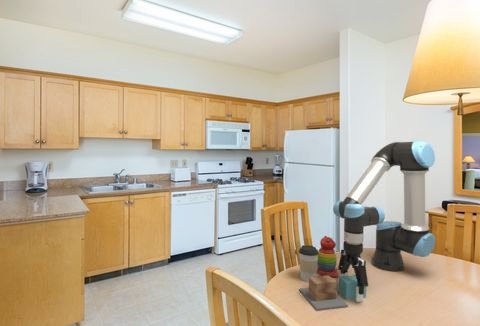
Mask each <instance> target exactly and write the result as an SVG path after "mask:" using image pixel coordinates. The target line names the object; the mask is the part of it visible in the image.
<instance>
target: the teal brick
mask: <svg viewBox="0 0 480 326" xmlns="http://www.w3.org/2000/svg"><path fill="white" fill-rule="evenodd" d="M337 281H338V283H337V290H338V291H337V292H338V294H339V295H340V296H341V297H342V298H343V299H344V300H346V301H348V300H356V285H358V283H357V279H356V275H355V274H354V275H353V274H352V275H348V276H341V275H340V276H339V277H338V280H337ZM365 298H367V287H364V294H363V299H365Z"/></svg>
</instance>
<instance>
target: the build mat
mask: <svg viewBox="0 0 480 326" xmlns="http://www.w3.org/2000/svg"><path fill="white" fill-rule="evenodd" d="M298 291H299V292H300V294H302V295H303V297H304V298H305V299H306V300H307V301H308V303H310V305H311V306H312V307H313V309H315V311H317V312H318V311H319V312H320V311H327V310H335V309H345V308H349V304H347V303H346V302H345V301H344V299H342V298H341V297H340V296H339V295H337V294H336V299H332V300H323V301H315V300H314V299H313V298H312V297H311V296H310V295H309V287H302V288H298Z"/></svg>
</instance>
